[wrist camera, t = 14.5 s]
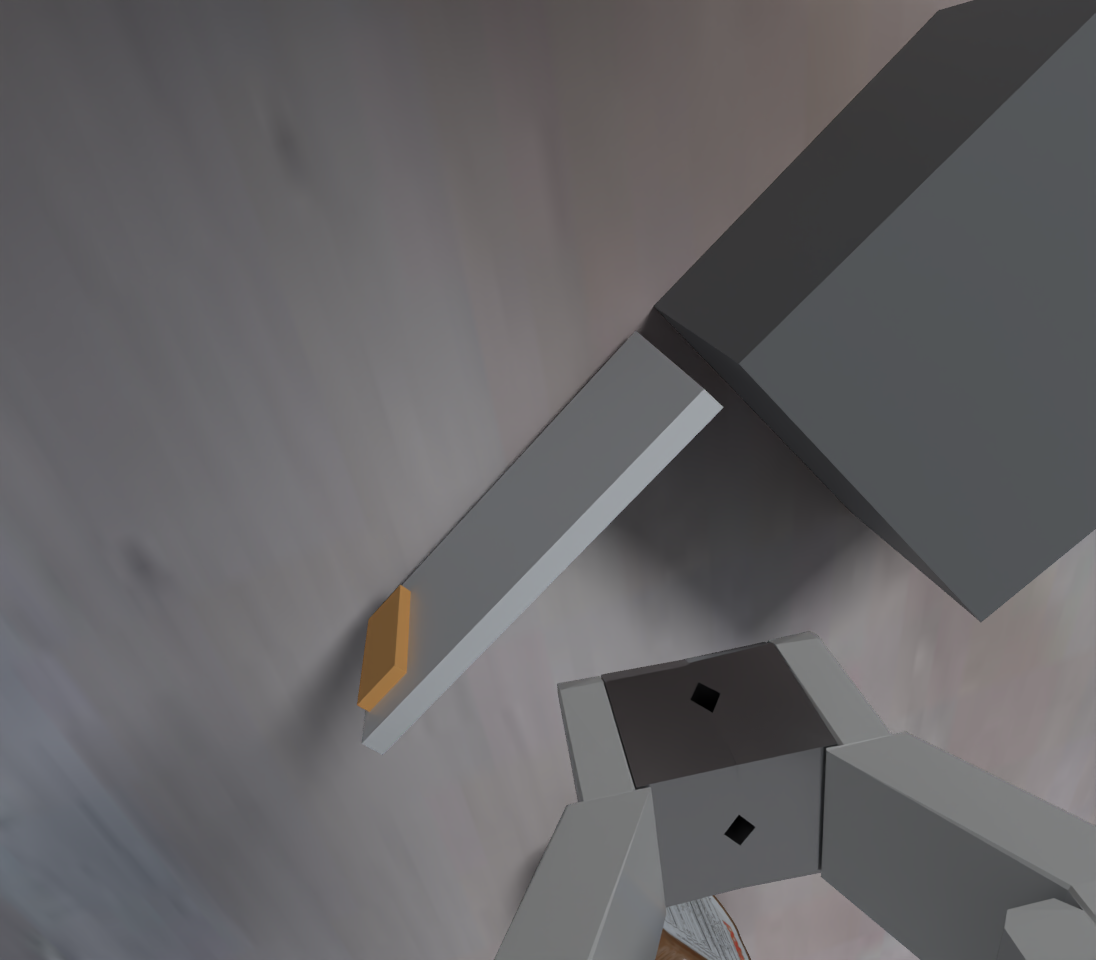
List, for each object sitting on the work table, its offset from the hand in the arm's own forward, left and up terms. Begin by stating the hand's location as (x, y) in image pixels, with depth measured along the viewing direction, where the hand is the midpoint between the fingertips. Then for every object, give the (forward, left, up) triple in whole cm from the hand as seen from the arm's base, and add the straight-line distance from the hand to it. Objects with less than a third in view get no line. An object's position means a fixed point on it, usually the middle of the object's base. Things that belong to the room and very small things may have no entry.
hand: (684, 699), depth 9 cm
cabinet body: (-13, +13, -26) cm, 31 cm away
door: (+6, +6, -25) cm, 26 cm away
